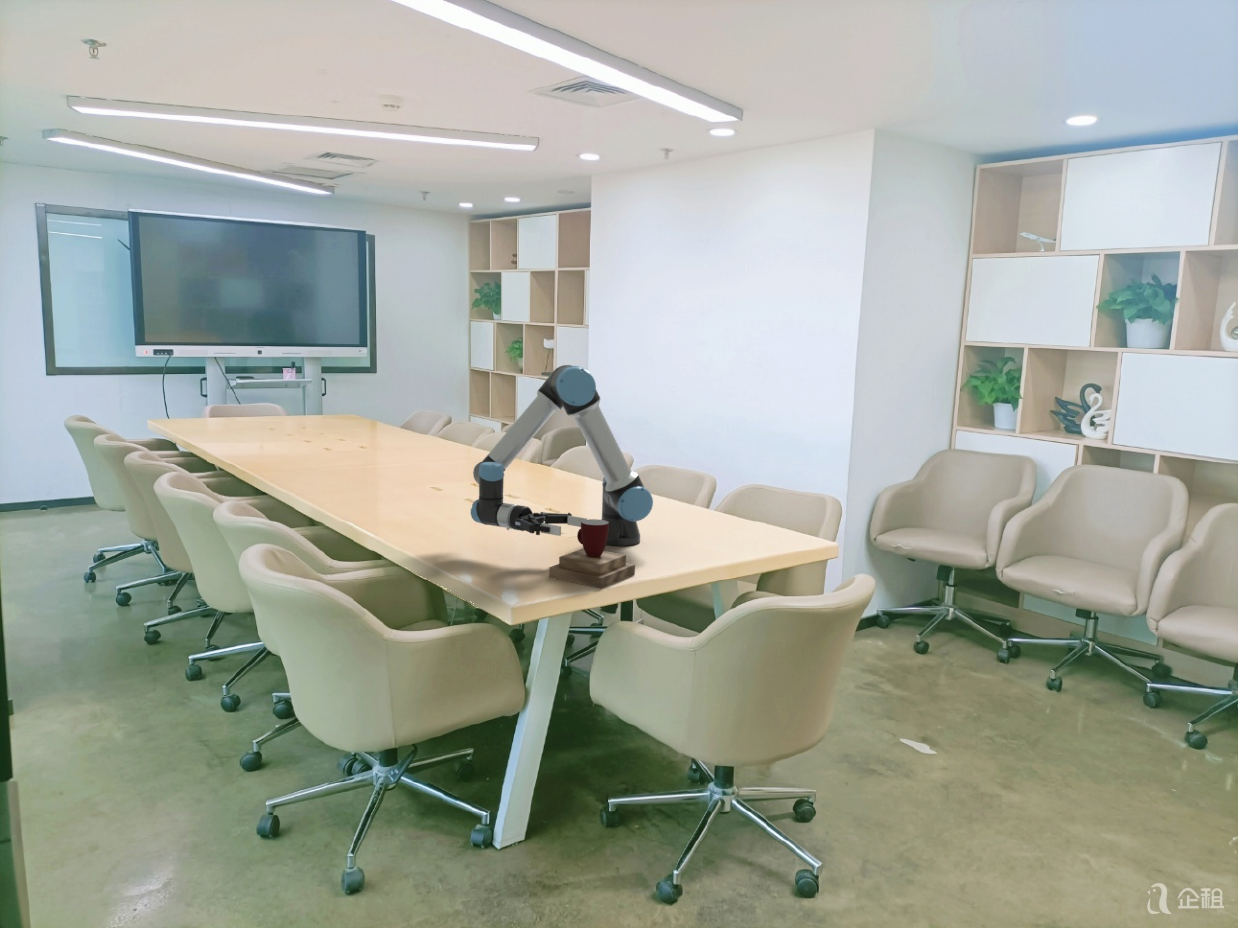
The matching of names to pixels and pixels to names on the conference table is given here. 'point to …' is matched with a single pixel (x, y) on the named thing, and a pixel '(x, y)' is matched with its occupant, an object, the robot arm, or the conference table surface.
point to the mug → (593, 536)
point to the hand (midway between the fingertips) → (573, 527)
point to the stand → (592, 568)
